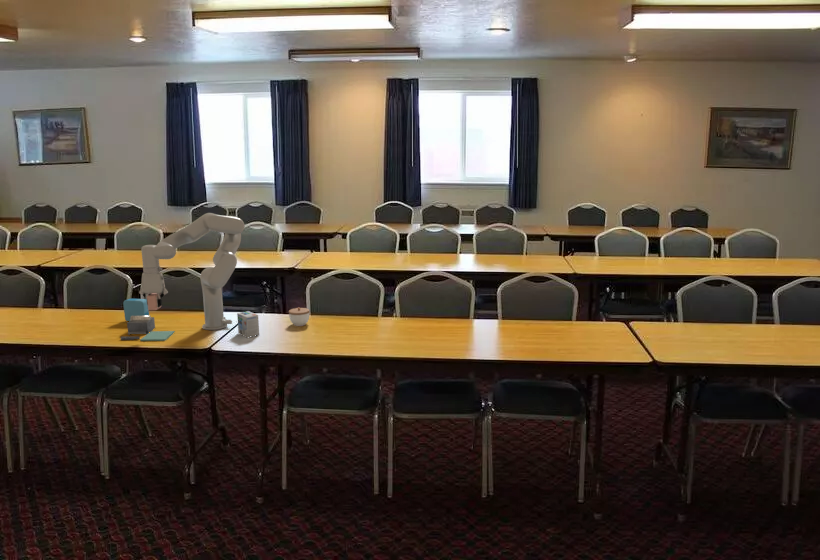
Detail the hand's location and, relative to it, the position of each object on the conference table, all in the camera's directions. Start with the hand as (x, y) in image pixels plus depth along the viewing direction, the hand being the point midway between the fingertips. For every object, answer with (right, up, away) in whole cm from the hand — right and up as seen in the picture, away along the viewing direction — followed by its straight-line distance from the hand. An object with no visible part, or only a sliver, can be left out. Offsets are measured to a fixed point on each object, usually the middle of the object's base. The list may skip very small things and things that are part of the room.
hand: (154, 306), depth 326 cm
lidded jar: (+68, -11, +23) cm, 73 cm away
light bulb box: (+45, -15, +6) cm, 48 cm away
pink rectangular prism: (0, -1, 0) cm, 1 cm away
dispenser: (-12, -15, +8) cm, 20 cm away
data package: (-22, -10, +33) cm, 41 cm away
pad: (0, -15, +3) cm, 16 cm away
